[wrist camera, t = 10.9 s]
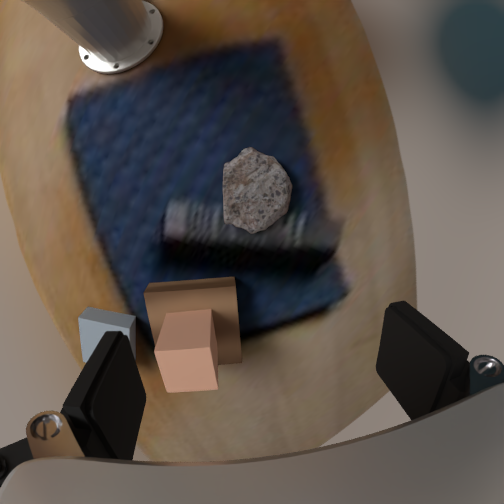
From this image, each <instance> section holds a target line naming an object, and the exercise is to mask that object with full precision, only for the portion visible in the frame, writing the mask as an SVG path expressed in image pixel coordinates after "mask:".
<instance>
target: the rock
mask: <svg viewBox="0 0 504 504" xmlns="http://www.w3.org/2000/svg"><path fill="white" fill-rule="evenodd" d="M291 190H292V184H291V181H290V177H288V175H287V173H286V171H285V170H284V169H283V167H282V166H281V165H280V164H279V163H278V162H277V160H276V159H275V158H274V157H272V156H267V155H265V154H263V153H260V152H258V151H256V150H255V149H254V148H252V147H249V148H245V149H243V150H242V151H241V153H239V155H238V157H236V158H235V159H233V160H232V161H231V162H228V163H225V164H224V170H223V204H224V206H223V208H224V222H225V224H234V225H235V226H236V227H238V228H243V229H245V230H247V231H248V232H249V233H250V234H254V233H256V232H258V231H261V230H263V231H264V230H266V229H267V228H268V227H269V226H271V225H272V224H273V223H274V222H275V221H277V220H278V219H279V218H280V217H281V216H283V215H285V214H286V213H287V211H288V209H289V202H290V199H291Z"/></svg>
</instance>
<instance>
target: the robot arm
mask: <svg viewBox="0 0 504 504" xmlns="http://www.w3.org/2000/svg"><path fill="white" fill-rule="evenodd" d="M22 1H23V2H25V3H27V4H28V5H30V6H31V7H32V8H34V9H35V10H37V11H38V12H39V13H40V14H42V15H43V16H44V17H45V18H47V19H48V20H49V21H50V22H52V23H53V24H54V25H55V26H57V27H58V28H59V29H60V30H61V31H63V32H64V33H65V34H66V35H68V36H69V37H70V38H71V39H72V40H74V41H75V42H76V43H77V44H78V45H79V54H80V58H81V60H82V61H83V63H84V64H85V65H86V66H87V67H88V68H90V69H91V70H93V71H95V72H97V73H102V74H114V73H120V72H123V71H126V70H129V69H131V68H133V67H135V66H137V65H138V64H139V63H141V62H142V61H144V60H145V59H146V58H147V57H148V56H149V55H150V54H151V53H152V52H153V51H154V49H155V48H156V47H157V45H158V43H159V42H160V39H161V37H162V34H163V19H162V16H161V14H160V12H159V10H158V9H157V8H156V7H155V6H154V5H152V4H151V3H149V2H146V1H143V0H22ZM152 43H153V44H152ZM151 44H152V45H151ZM118 66H119V67H118ZM117 67H118V68H117ZM468 355H469V352H468V351H467V350H465V349H464V348H463V347H462V346H461V345H459V344H458V343H457V342H456V341H455V340H453V339H452V338H451V337H450V336H448V335H447V334H446V333H445V332H444V331H442V330H441V329H440V328H438V327H437V326H436V325H435V324H434V323H432V322H431V321H430V320H429V319H427V318H426V317H425V316H424V315H422V314H421V313H420V312H419V311H417V310H416V309H415V308H413V307H412V306H411V305H410V304H408V303H407V302H406V301H399V302H394V303H391V304H390V305H389V307H388V308H386V310H385V315H384V322H383V328H382V334H381V340H380V346H379V352H378V357H377V362H376V371H377V373H378V375H379V376H380V377H381V379H382V380H383V382H384V383H385V384H386V386H387V387H388V388H389V390H390V391H391V392H392V394H393V395H394V396H395V398H396V399H397V401H398V402H399V403H400V405H401V406H402V408H403V409H404V410H405V412H406V413H407V415H408V416H409V417H410V419H411V421H409V422H406V423H403V424H400V425H397V426H394V427H392V428H388V429H385V430H382V431H379V432H376V433H373V434H369V435H366V436H363V437H359V438H355V439H352V440H348V441H344V442H340V443H336V444H332V445H328V446H324V447H319V448H314V449H309V450H304V451H298V452H293V453H287V454H280V455H274V456H266V457H258V458H249V459H239V460H227V461H209V462H152V461H133V460H132V459H133V455H134V450H135V445H136V441H137V437H138V432H139V428H140V424H141V420H142V416H143V411H144V407H145V403H146V393H145V389H144V387H143V384H142V381H141V377H140V374H139V371H138V368H137V365H136V362H135V358H134V355H133V352H132V348H131V345H130V341H129V338H128V336H127V335H124V334H123V332H122V331H106V332H105V333H104V335H103V336H102V338H101V339H100V341H99V343H98V344H97V346H96V348H95V349H94V351H93V353H92V354H91V356H90V358H89V359H88V361H87V363H86V365H85V366H84V368H83V370H82V371H81V373H80V375H79V377H78V378H77V380H76V382H75V384H74V386H73V387H72V389H71V391H70V393H69V395H68V397H67V398H66V400H65V402H64V404H63V408H62V410H61V412H60V413H59V412H56V411H44V412H40V413H38V414H36V415H35V416H33V417H32V418H31V419H30V421H29V422H28V423H27V426H26V435H27V438H24V439H22V440H20V441H18V442H15V443H13V444H10V445H8V446H6V447H3V448H1V449H0V504H504V365H503V364H502V362H501V361H500V360H498V359H497V358H495V357H493V356H489V355H479V356H475V357H473V358H472V360H471V361H470V363H469V362H468V361H467V358H468Z"/></svg>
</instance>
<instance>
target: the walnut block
mask: <svg viewBox="0 0 504 504" xmlns="http://www.w3.org/2000/svg"><path fill="white" fill-rule="evenodd" d="M144 297H145V302H146V307H147V312H148V317H149V321H150V326H151V330H152V335H153V339H154V343H155V347H156V344H157V341H158V338H159V334H160V331H161V328H162V325H163V322H164V319H165V316H166V313H174V312H185V311H196V310H206V309H211V310H212V317H213V323H214V329H215V335H216V341H217V347H218V365H221V364H233V363H242V353H241V342H240V331H239V319H238V307H237V295H236V284H235V278H234V277H224V278H212V279H199V280H186V281H173V282H159V283H149V285H148V286H147V288H146V290H145V291H144Z"/></svg>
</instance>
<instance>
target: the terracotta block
mask: <svg viewBox="0 0 504 504" xmlns="http://www.w3.org/2000/svg"><path fill="white" fill-rule="evenodd" d="M154 352H155V356H156V359H157V362H158V366H159V369H160V372H161V375H162V378H163V381H164V384H165V387H166V390H167V392H188V391H203V390H216V389H218V347H217V341H216V335H215V329H214V323H213V317H212V310H211V309H206V310H196V311H185V312H174V313H166V316H165V319H164V322H163V325H162V328H161V331H160V334H159V338H158V341H157V344H156V347H155V350H154Z"/></svg>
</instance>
